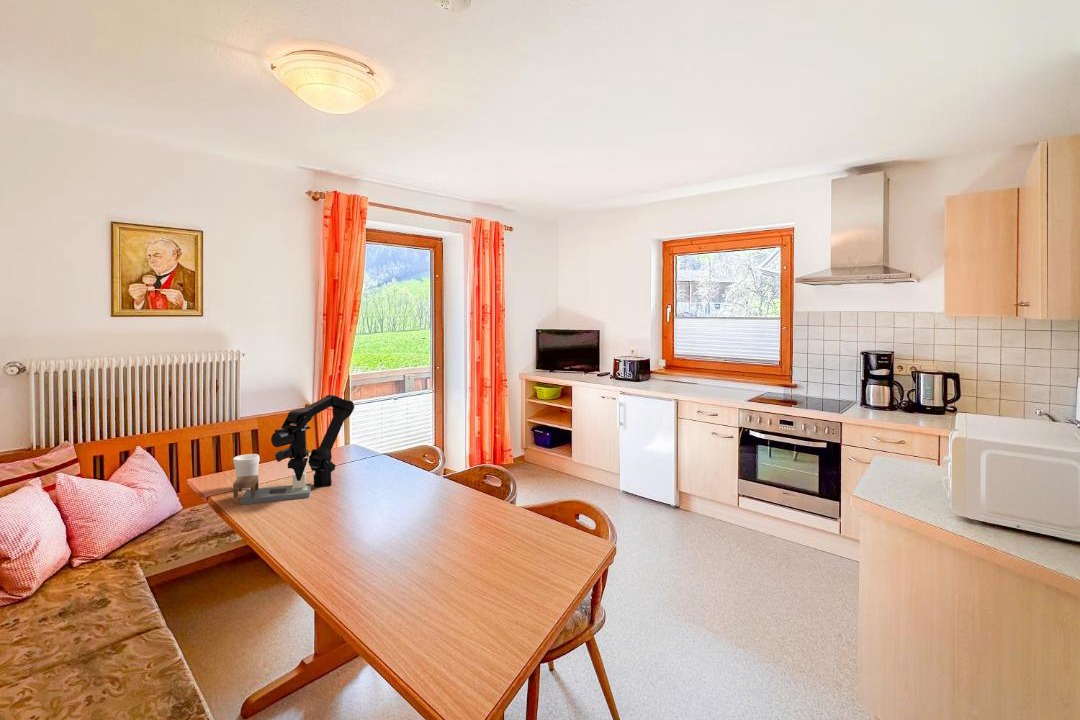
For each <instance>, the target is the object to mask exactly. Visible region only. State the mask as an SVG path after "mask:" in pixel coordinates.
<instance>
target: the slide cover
mask: <svg viewBox="0 0 1080 720" xmlns="http://www.w3.org/2000/svg"><path fill="white" fill-rule="evenodd" d="M232 484H233V485H232V493H233V497H232V498H233V499H234V500H235V499H236V500H237V499H238V498H239V497H238V495H239V494H238V493H239V492H242V491H243V489H242V488H250V489H251V497H254V496H255V490H258V489H259V474H258V475H253V476H241V477H238V478H237V477H236V479H235V480H234V481H233V483H232Z"/></svg>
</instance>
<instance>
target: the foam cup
mask: <svg viewBox="0 0 1080 720" xmlns="http://www.w3.org/2000/svg"><path fill="white" fill-rule="evenodd" d="M232 459H233V466H234V469H235V470H234V471H235V475H236V479H237V478H238V477H241V476H253V475H258V476H259V465H260V455H259V454H257V453H248V454H240V455H237V456H235V457H233V458H232ZM247 489H249V488H242V490H247Z"/></svg>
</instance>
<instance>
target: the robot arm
mask: <svg viewBox="0 0 1080 720" xmlns="http://www.w3.org/2000/svg"><path fill="white" fill-rule="evenodd" d="M328 408H332V418H331V420H330V423H329V425H328V428H327V430H326V432H325V434H324V436H323V437H322V438H323V439H322V441H321V442H320V445H319V446H318V448H313V449H312V450H311V453H310V451H309V450H308V449H307V445H308V443H307V430H310V429H311V426H309V425H308V423H310V422H311V420H312V418H313V417H314V416H316V415H318V414H320V413H321V412H323V411H326V409H328ZM354 409H355V404H354V401H352V400H348V399H344V398H341V397H339V396H338V395H336V394H335V395H334V394H333V395H332V394H328V395H327V394H326V395H325V396H324V397H323V398H321V399H319V400H317V401H315V402H313V403H311V404H309V405H308V406H306V407H301V408H295V409H293V410H290V411H288V413H287V416H286V418H285V420H284V422H283V423H282V425H281V427H280V429H279V428H278V429H275V430H274V433H273V434H272V435H271V438H270V441H271V444H272V446H274V447H275V448H280V447H283V446H287V445H289V447H286V448H284V449H281V450H279V451H277V452H275V454H274V457H275V458H274V459H275V460H276V462H278V463H279V462H282V461H284V460H286V459H287V458H288V459H289V460H288V462H287V469H292V471H293V472H295V475H296V478H297V481H300V480H301V477H302V474H303V472H304V471H305V468H306V466H307V463H308V466H309V467H310V469H311V471H313V472H314V474H313V485H314V488H319V487H320V488H321V487H331V486H332V483H333V480H332V473H333V471H335V469H336V464H334V462H332V458H333V457H332V456H333V455H332V449H333V447H334V444H335V443H336V440H337V438H338V436H339V433H340V431H341V429H342V426H343V424H344V422H345V420H347V419H348V418H349V417H350V416H351V415H352V413H353V412H354Z"/></svg>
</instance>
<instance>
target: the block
mask: <svg viewBox="0 0 1080 720" xmlns="http://www.w3.org/2000/svg"><path fill="white" fill-rule="evenodd" d="M306 473H307V472H306V470H304V472H303V474H302V477H301V480H300V481H297V478H296V475H295V472H294V471H293V473H292V475H291V476H292V485H293V488H303V487H305V486H306V484H307V474H306Z"/></svg>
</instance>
